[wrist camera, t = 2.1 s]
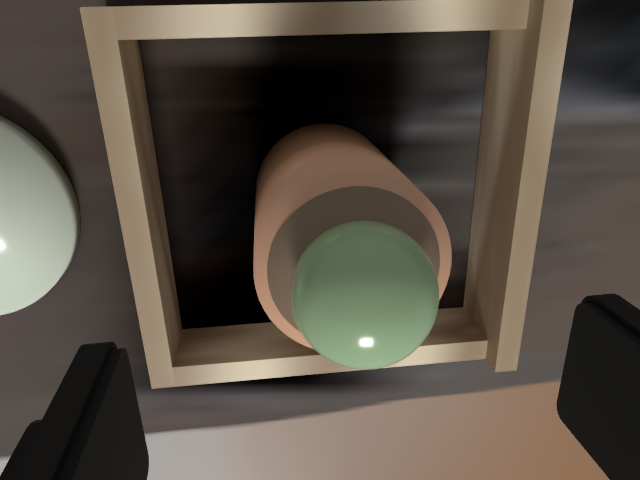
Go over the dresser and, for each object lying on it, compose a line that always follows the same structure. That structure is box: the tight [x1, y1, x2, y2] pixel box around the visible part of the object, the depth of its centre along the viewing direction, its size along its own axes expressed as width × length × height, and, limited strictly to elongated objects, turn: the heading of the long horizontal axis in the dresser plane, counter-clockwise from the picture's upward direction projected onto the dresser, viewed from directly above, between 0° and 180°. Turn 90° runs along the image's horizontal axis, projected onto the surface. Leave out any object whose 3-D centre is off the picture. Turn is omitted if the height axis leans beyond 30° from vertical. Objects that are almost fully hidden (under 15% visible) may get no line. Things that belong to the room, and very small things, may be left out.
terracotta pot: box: [253, 124, 452, 370], centre depth 17 cm, size 6×6×12 cm
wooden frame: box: [80, 0, 573, 389], centre depth 21 cm, size 16×15×4 cm
